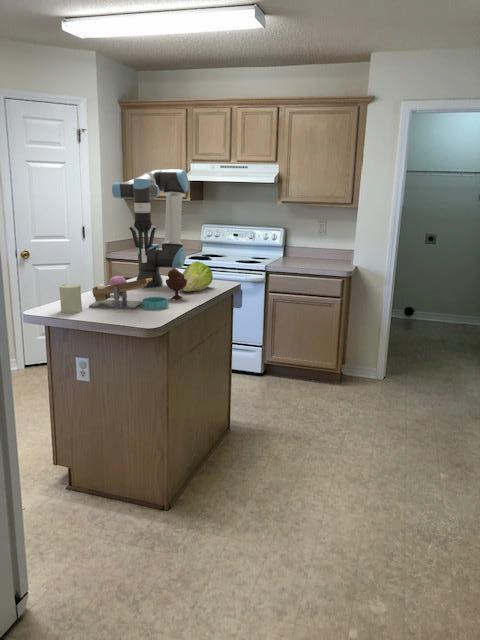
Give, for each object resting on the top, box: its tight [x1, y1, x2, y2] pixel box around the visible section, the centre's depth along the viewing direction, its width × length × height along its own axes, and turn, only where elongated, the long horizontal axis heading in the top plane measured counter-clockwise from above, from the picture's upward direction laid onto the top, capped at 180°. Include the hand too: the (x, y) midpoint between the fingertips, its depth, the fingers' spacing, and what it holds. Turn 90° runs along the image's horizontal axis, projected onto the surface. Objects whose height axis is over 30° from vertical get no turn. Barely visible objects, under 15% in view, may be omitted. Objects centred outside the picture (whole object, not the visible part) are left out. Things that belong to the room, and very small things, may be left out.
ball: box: [97, 283, 106, 290], centre depth 240 cm, size 4×4×4 cm
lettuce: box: [182, 260, 213, 292], centre depth 279 cm, size 15×24×16 cm
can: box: [58, 283, 83, 314], centre depth 229 cm, size 9×9×12 cm
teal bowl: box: [141, 296, 169, 311], centre depth 239 cm, size 12×12×4 cm
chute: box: [91, 278, 152, 302], centre depth 244 cm, size 17×24×6 cm
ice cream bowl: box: [165, 268, 187, 301], centre depth 256 cm, size 11×11×15 cm
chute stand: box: [88, 287, 143, 310], centre depth 240 cm, size 13×22×10 cm, turn 83°
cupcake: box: [108, 275, 128, 296], centre depth 264 cm, size 9×9×10 cm
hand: (144, 262), depth 246 cm, fingers closed
